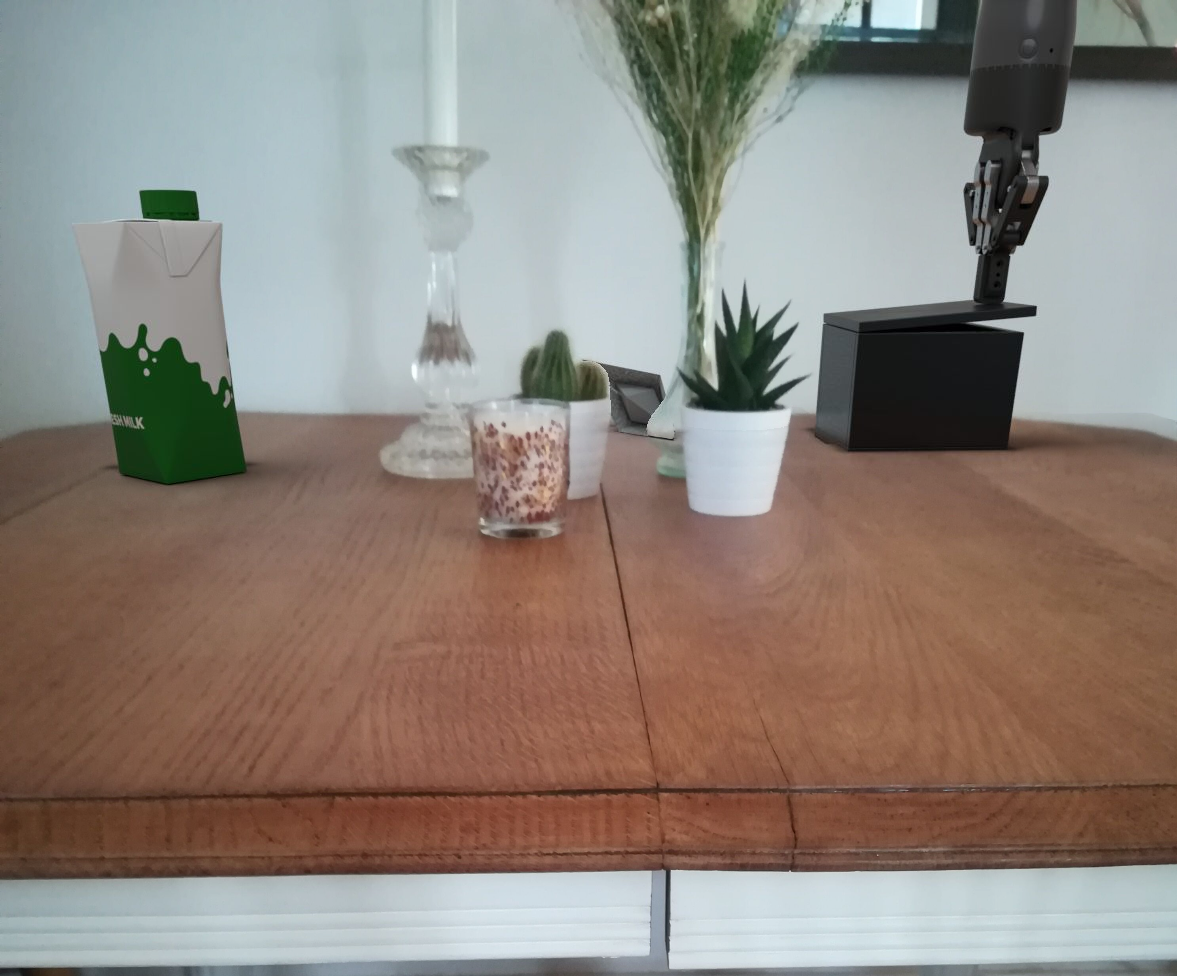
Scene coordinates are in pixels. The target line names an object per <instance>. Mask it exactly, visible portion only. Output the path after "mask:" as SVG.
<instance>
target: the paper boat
mask: <svg viewBox="0 0 1177 976" xmlns="http://www.w3.org/2000/svg"><path fill="white" fill-rule="evenodd" d="M583 361H589V360H588V359H583V358H582V362H583ZM591 361H592V360H591ZM592 362H594V361H592ZM595 362H596V363H598V364H600V365H601V366H602V367H603V368H604V369H605V370H606V372H607V373H608V377H609V382H610V385H609V386H610V400H611V415H610V417H611V419H612V420H613V423H614V425H615V426H616V428H617V431H618V433H624V434H631V435H638V436H642V437H643V436H644V437H649V436H648V434H647V430H646V428H647V424H648V421H649V419H650V418H651V415H652V414H653V413H654V412H655V410H656V409H657V408H658V407H659V405H660V404H661V402H662V401H663V400H664V398H665V396H666V397H667V394H666V391H665V387H664V384H663V380H662V376H661V374H659V373H653V372H648V371H642V370H638V369H632V368H627V367H622V366H619V365H612V364H606V363H602V362H598V361H595Z"/></svg>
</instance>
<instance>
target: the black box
mask: <svg viewBox="0 0 1177 976" xmlns="http://www.w3.org/2000/svg"><path fill="white" fill-rule="evenodd" d="M821 330H822V331H821V343H820V355H819V356H820V357H819V370H818V383H817V396H816V406H815V407H816V408H815V420H814V421H815V422H814V434H813V435H814V436H815V437H816V438H817V439H818V440H820V441H822V442H823V443H825V444H826V445H837V446H839V447H840V448H842V449H843V450H845V451H847V452H855V453H856V452H937V451H938V452H941V451H942V452H943V451H945V452H946V451H1007V450H1008V449H1009V447H1008V446H1009V440H1010V433H1011V426H1012V419H1013V414H1014V406H1015V399H1016V392H1017V385H1018V378H1019V372H1020V365H1021V357H1022V351H1023V344H1024V337H1025V332H1024V331H1021V330H1020V331H1019V330H1014V329H1009V328H1003V327H998V326H992V325H986V324H980V323H976V322H968V323H957V324H947V325H936V326H925V327H914V328H903V329H892V330H881V331H870V332H856V331H853V330H849V329H845V328H842V327H838V326H834V325H830V324H827V323H822V329H821ZM814 436H813V437H814Z"/></svg>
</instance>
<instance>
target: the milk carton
mask: <svg viewBox="0 0 1177 976" xmlns="http://www.w3.org/2000/svg"><path fill="white" fill-rule="evenodd" d="M138 194H139V199H140V209H141V214H142V218H122V219H113V220H104V221H99V222H98V221H97V222H96V221H95V222H72V223H71V228H72V231H73V232H72V233H73V235H74V239H75V242H76V245H77V249H78V253H79V257H80V260H81V264H82V267H83V271H84V275H85V278H86V283H87V288H88V293H89V299H90V304H91V310H92V316H93V322H94V328H95V334H96V339H97V344H98V351H99V355H100V356H99V357H100V362H101V368H102V374H103V381H104V386H105V392H106V399H107V403H108V409H109V416H110V422H111V429H112V435H113V441H114V447H115V453H116V459H117V466H118V472H119V474H120V475H125V476H130V477H134V478H139V479H143V480H148V481H153V482H157V483H161V484H166V485H170V484H176V483H183V482H190V481H195V480H202V479H208V478H214V477H221V476H226V475H235V474H240V473H246V472H247V470H248V469H247V464H246V457H245V453H244V446H243V441H242V436H241V435H242V434H241V430H240V429H241V428H240V425H239V419H238V418H239V417H238V413H237V406H236V401H235V400H236V399H235V392H234V385H233V377H232V368H231V361H230V352H229V344H228V337H227V328H226V322H225V313H224V305H223V295H222V289H221V271H222V270H221V269H222V249H223V246H222V245H223V223H222V222H221V221H213V220H200V219H201V218H200V208H199V202H198V195H197V191H196V190H189V189H188V190H187V189H142V190H141V189H140V190H139V192H138Z"/></svg>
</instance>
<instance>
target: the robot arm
mask: <svg viewBox="0 0 1177 976" xmlns="http://www.w3.org/2000/svg"><path fill="white" fill-rule="evenodd" d="M980 4H981V5H980V9H979V14H978V18H977V22H976V25H975V26H976V27H975V32H974V38H973V44H972V53H971V60H970V70H969V78H968V86H967V95H966V103H965V111H964V120H963V131H964V134H966V135H968V136H969V137H981V138H982V139H983V140H982V142H983V143H982V145H981V150H980V153H979V156H978V161H977V162H976V164H975V167H974V170H973V171H974V173H973V182H966V183H965V185H964V187H963V189H962V192H963V202H964V211H965V218H966V220H965V221H966V228H967V237H968V244H969V246H970V247H974V249H975V254H976V255H978V258H977V266H976V273H975V281H974V289H973V294H972V300H974V301H975V302H976V303H981V304H1000V303H1002V302H1005V299H1006V292H1007V285H1008V277H1009V270H1010V263H1011V255H1014V254H1015V253H1016V250H1017V248H1018V247H1024V245H1025V243H1026V241H1027V239H1028V236H1029V234H1030V232H1031V229H1032V228H1033V224H1034V222H1035V220H1036V217H1037V214H1038V212H1039V210H1040V208H1041V205H1042V203H1043V201H1044V198H1045V196H1046V194H1047V191H1048V188H1049V186H1050V178H1049V176H1048V175H1039V170H1040V162H1039V160H1040V136H1049V135H1052V134H1055V133H1058V132H1059V131H1060V130H1061V127H1062V125H1063V119H1064V112H1065V107H1066V99H1067V93H1068V87H1069V79H1070V74H1071V65H1072V60H1073V53H1074V47H1075V42H1076V40H1075V39H1076V33H1077V20H1078V19H1077V17H1078V16H1077V15H1078V0H981V3H980Z"/></svg>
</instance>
